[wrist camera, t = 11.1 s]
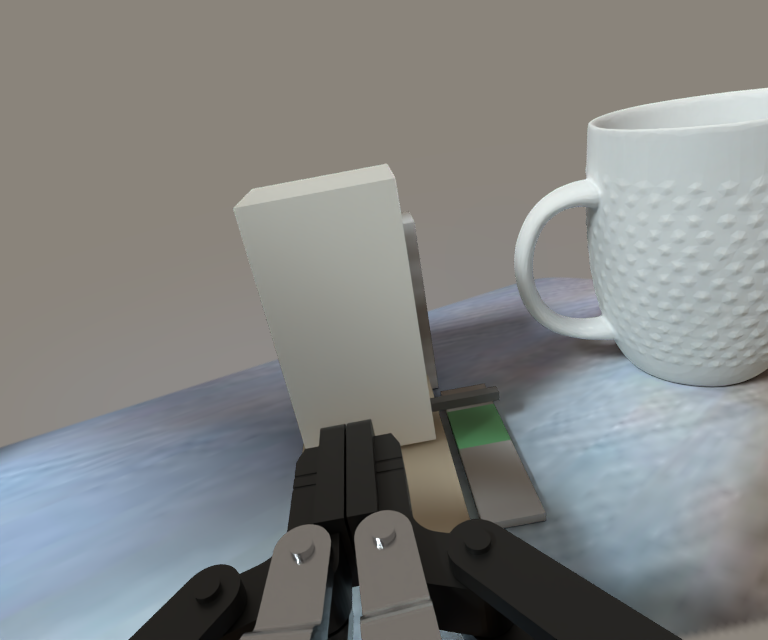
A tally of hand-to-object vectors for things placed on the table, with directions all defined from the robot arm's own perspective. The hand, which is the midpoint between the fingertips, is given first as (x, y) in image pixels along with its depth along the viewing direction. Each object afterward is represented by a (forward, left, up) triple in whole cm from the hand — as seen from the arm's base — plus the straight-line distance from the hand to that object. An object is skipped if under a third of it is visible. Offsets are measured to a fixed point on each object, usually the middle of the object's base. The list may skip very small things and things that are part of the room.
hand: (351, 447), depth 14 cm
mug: (+20, -6, -7) cm, 22 cm away
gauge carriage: (+8, +4, -6) cm, 11 cm away
